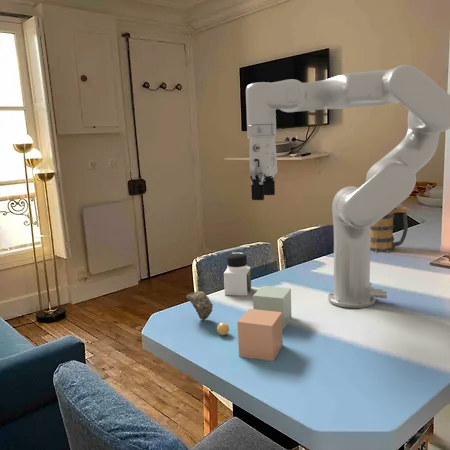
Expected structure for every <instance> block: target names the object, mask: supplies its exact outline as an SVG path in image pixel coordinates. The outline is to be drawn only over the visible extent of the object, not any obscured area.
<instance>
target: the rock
mask: <svg viewBox="0 0 450 450" xmlns="http://www.w3.org/2000/svg"><path fill="white" fill-rule="evenodd" d="M186 299H187V300H188V301H189V302H190V303H191V304H192V306H193V308H194V309H195V311H196V314H197V316H198V318H199V319H200V320H202V321H206V320H207V319H208V318H209V316H210V315H211V313H212V312H213V307H214V306H213V305H214V304H213V303H212V301H211V300H210V298H209V297H208V295H206V293H205V292H204V291H200V290H199V291H198V290H197V291H195V292H190V293H188V294H187V295H186Z"/></svg>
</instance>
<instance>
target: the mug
mask: <svg viewBox="0 0 450 450" xmlns="http://www.w3.org/2000/svg"><path fill="white" fill-rule="evenodd" d="M409 212H411V209H410V208H408V207H406V206H402V207H395V208H394V209H393V210H392V211H390V212H389V213H388V214H387V215H385V216H384V217H383V218H382V219H380V220H379V221H378V222H376V223H375V224H373V225H372V226H370V238H371V242H370V252H376V253H390V252H393V251H397V250H398V249H396V247H398V246H401V245H402V244H403V243H404V241H405V239H406V237H407V234H408V230H409V227H408V226H409V225H408V224H409V223H408V213H409ZM395 213H402V220H403V232H402V235H401V238H400V240H398V241H395V237H394V234H393V229H394V228H395V224H394V217H396V215H395ZM394 241H395V242H394Z"/></svg>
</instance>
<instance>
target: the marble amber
mask: <svg viewBox="0 0 450 450" xmlns="http://www.w3.org/2000/svg"><path fill="white" fill-rule="evenodd" d="M216 331H217V334H219V335H220V336H225V335H227V334H229V332H230V326H229V324H228V323H226V322H220V323H218V324H217V326H216Z"/></svg>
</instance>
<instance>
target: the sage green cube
mask: <svg viewBox="0 0 450 450" xmlns="http://www.w3.org/2000/svg"><path fill="white" fill-rule="evenodd" d="M252 304H253V306H252V307H253V308H252V309H256V310H266V311H275V312H282V330H284V329H285V328H286V327H287V325H288V323H289V321H290V320H291V318H292V289H291V287H280V286H271V285H269V286H268V285H262V286H261V287H260V288H259V289H258V290H257V291H256V292H254V294H253V295H252Z"/></svg>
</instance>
